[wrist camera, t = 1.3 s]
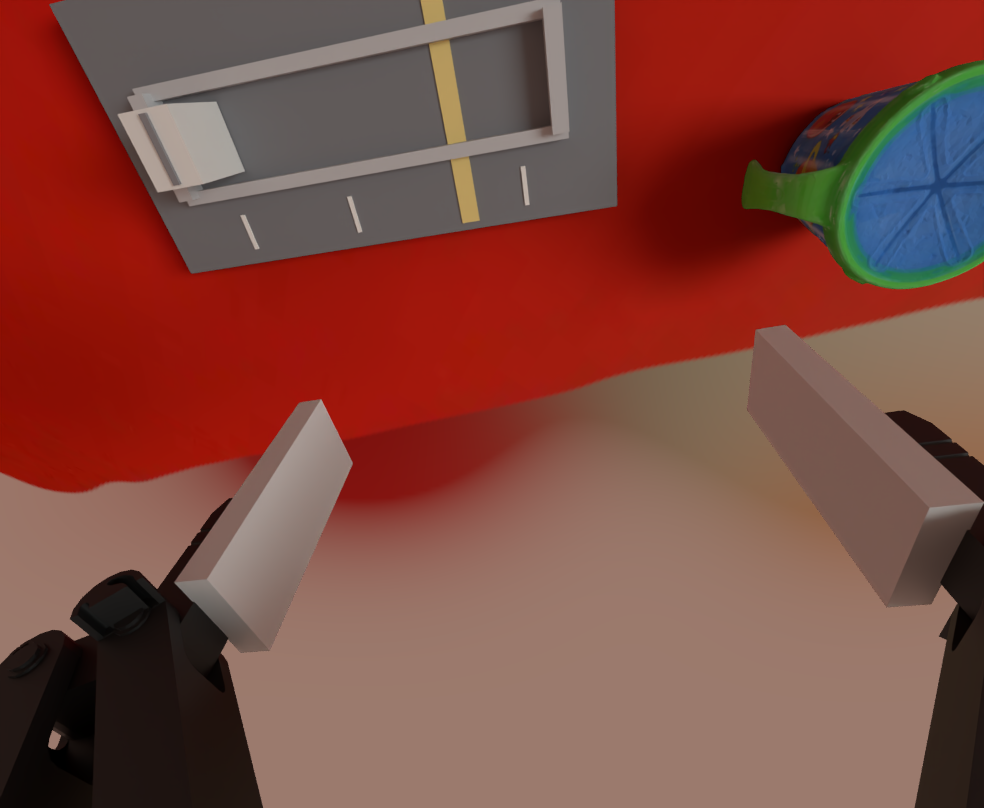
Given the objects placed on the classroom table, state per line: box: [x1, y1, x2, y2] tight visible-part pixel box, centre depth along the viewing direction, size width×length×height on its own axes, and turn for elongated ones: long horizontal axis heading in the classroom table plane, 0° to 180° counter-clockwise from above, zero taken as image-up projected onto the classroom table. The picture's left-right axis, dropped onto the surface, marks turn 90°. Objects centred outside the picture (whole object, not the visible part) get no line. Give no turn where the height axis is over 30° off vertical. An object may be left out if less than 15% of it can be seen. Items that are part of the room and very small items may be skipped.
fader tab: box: [117, 102, 245, 192], centre depth 28 cm, size 4×3×5 cm
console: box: [49, 0, 617, 274], centre depth 30 cm, size 16×32×4 cm, turn 99°
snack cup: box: [741, 60, 984, 289], centre depth 27 cm, size 16×10×10 cm
